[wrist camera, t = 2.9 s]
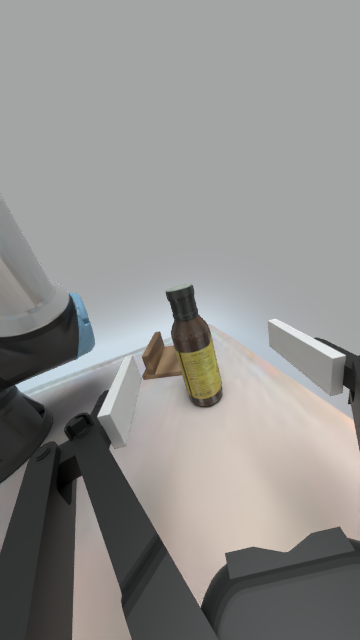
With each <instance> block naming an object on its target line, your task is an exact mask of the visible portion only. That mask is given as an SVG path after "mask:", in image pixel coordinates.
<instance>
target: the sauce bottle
mask: <svg viewBox="0 0 360 640" xmlns="http://www.w3.org/2000/svg"><path fill="white" fill-rule="evenodd" d="M166 296H167V299H168V301H169V302H170V305H171V309H172V312H173V317H174V323H173V326H172V330H171V335H172V340H173V343H174V348H175V352H176V355H177V358H178V362H179V365H180V368H181V372H182V375H183V378H184V382H185V385H186V388H187V391H188V393H189V396H190V398H191V400H192V401H193V402H194V403H195V404H196V405H198V406H210V405H212V404H214V403H215V402H217V401H218V400H219V399H220V397H221V396H222V386H221V385H222V382H221V377H220V373H219V369H218V364H217V359H216V355H215V350H214V346H213V341H212V336H211V332H210V330H209V327H208V324H207V323H206V322H205V321H204V320H203V318H201V317H200V316H199V315H198V309H197V307H196V302H195V299H194V289H193V285H192V284H183V285H179V286H175V287H172V288H169V289H167V290H166Z"/></svg>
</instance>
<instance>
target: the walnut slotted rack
mask: <svg viewBox="0 0 360 640" xmlns="http://www.w3.org/2000/svg"><path fill="white" fill-rule="evenodd" d="M142 359H143V362H144V364H145V367H146V369H145V372H144V374H143V379H144V380H145V379H153V378H161V377H169V376H177V375H182V372H181V368H180V365H179V362H178V358H177V355H176V352H175V348H174V346H168V347H165V346H164V343H163V340H162V337H161V333H160V332H156V333H155V334H154V335H153V337H152V339H151V341H150V343H149V344H148V346H147V348H146V350H145V352H144V354H143V355H142Z"/></svg>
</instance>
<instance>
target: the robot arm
mask: <svg viewBox="0 0 360 640" xmlns="http://www.w3.org/2000/svg"><path fill="white" fill-rule="evenodd" d="M268 331H269V344H270V347H271V348H272V349H274V350H275V351H276V352H277V353H279V354H280V355H281V356H282V357H283V358H285V359H286V360H287V361H288V362H289V363H291V364H292V365H293V366H294V367H296V368H297V369H298V370H299V371H301V372H302V373H303V374H304V375H305V376H306V377H308V378H309V379H310V380H312V381H313V382H314V383H315V384H316V385H317V386H319V387H320V388H321V389H322V390H324V391H325V392H326V393H327V394H328V395H330V396H333V395H337V394H341V393H343V385H344V386H345V387H347V388H349V389H350V391H349V400H348V404H351V407H352V412H353V417H354V423H355V428H356V434H357V439H358V444H359V450H360V356H356V355H354V354H352V353H350V352H348V351H346V350H344V349H342V348H340V347H337V346H336V345H334V344H332V343H330V342H328V341H326V340H323V339H320V338H312V337H310V336H308V335H306V334H304V333H302V332H300V331H298V330H296V329H294V328H293V327H291V326H289V325H287V324H285V323H283V322H281V321H279V320H277V319H273V320H269V321H268ZM94 345H95V339H94V334H93V330H92V327H91V323H90V321H89V318H88V314H87V311H86V309H85V306H84V304H83V301H82V299H81V297H80V296H79V295H78V294H77V293H68V292H67V290H66V289H65V288H64V287H63V286H62V285H60V284H58V283H56V282H52V281H49V279H48V278H47V276H46V274H45V272H44V270H43V269H42V267H41V265H40V264H39V262H38V260H37V258H36V256H35V255H34V253H33V251H32V249H31V247H30V246H29V244H28V242H27V240H26V238H25V237H24V235H23V233H22V231H21V230H20V228H19V226H18V224H17V223H16V221H15V219H14V217H13V215H12V214H11V212H10V210H9V208H8V206H7V205H6V203H5V201H4V199H3V198H2V196H1V194H0V482H1V481H2V480H4V479H5V478H6V477H8V476H9V475H10V474H11V473H12V472H14V471H15V470H16V469H17V468H18V467H19V466H20V465H21V464H23V463H24V462H25V461H26V460H27V459H28V458H29V457H30V456H31V455H32V453H33V452H34V451H35V450H36V449H37V448H38V447H39V445H40V444H41V443H42V441H43V440H44V439H45V437H46V435H47V434H48V432H49V430H50V428H51V425H52V421H53V418H52V415H51V414H50V412H49V411H48V409H47V408H46V407H45V406H44V405H42V404H40V403H39V402H37V401H35V400H33V399H32V398H30V397H28V396H26V395H25V394H23V393H21V392H20V391H19V390H18V388H17V387H16V386H15V385H16V384H18V383H20V382H23V381H25V380H27V379H30V378H32V377H35V376H37V375H39V374H42V373H44V372H46V371H49V370H51V369H54V368H56V367H58V366H61V365H63V364H66V363H68V362H70V361H73V360H76V359H78V358H79V357H80V356H82V355H84V354H86V353H88V352H90V351H91V350H92V349H93V348H94ZM141 379H142V378H141V375H140V373H139V370H138V368H137V365H136V363H135V360H134V357H133V355H130V356H126V357H124V360H123V362H122V364H121V366H120V368H119V371H118V373H117V375H116V377H115V379H114V381H113V384H112V386H111V388H110V390H107V391H104V392H103V394H102V395H101V396H100V397H99V399H98V401H97V403H96V405H95V408H94V409H93V411H92V413H91V415H89V414H88V413H81V414H78V415H77V416H75V417H74V418H72V419H71V420H70V421H69V422H68V423H67V424H66V426H65V428H64V432H65V434H66V435H67V437H68V438H69V441H67V442H65V443H63V444H61V445H59V446H58V445H57V444H56V443H55V442H54V441H53V442H49V443H46V444H44V445H43V446H41V447H40V448H39V449H38V450H37V451H36V452H34V454H33V455H32V456H31V457H30V460H29V462H28V464H27V468H26V471H25V474H24V477H23V481H22V484H21V487H20V490H19V494H18V497H17V500H16V504H15V507H14V510H13V513H12V517H11V520H10V523H9V526H8V530H7V533H6V536H5V540H4V543H3V546H2V549H1V553H0V640H72V618H73V584H74V550H75V516H76V482H77V478H78V477H80V476H83V479H84V482H85V485H86V488H87V491H88V494H89V497H90V500H91V503H92V506H93V509H94V512H95V515H96V518H97V521H98V524H99V527H100V530H101V533H102V536H103V539H104V541H105V544H106V547H107V550H108V553H109V556H110V559H111V562H112V565H113V568H114V571H115V574H116V577H117V580H118V583H119V586H120V589H121V593H122V599H121V603H122V608H123V612H124V615H125V619H126V622H127V625H128V628H129V632H130V635H131V638H132V640H360V541H357V540H354V539H350V538H347V537H346V535H345V534H344V532H343V531H342V529H341V528H340V527H336V528H332V529H328V530H323V531H319V532H315V533H311V534H310V535H309V536H307V537H306V538H305V539H304V540H303V541H301V542H300V543H299V544H298V545H297V546H295V547H294V548H293V549H292V550H290V551H289V552H279V551H273V550H268V549H262V548H257V547H250V548H246V549H241V550H237V551H233V552H228V553H225V556H226V561H227V564H226V565H225V566H223V567H222V568H221V569H220V570H219V571H218V573H217V574H216V575H215V577H214V578H213V580H212V581H211V583H210V585H209V587H208V589H207V591H206V594H205V596H204V599H203V602H202V605H201V608H200V606H199V605H198V603H197V601H196V599H195V598H194V596H193V594H192V593H191V591H190V589H189V587H188V586H187V584H186V582H185V580H184V579H183V577H182V575H181V573H180V572H179V570H178V568H177V566H176V565H175V563H174V561H173V560H172V558H171V556H170V554H169V553H168V551H167V549H166V547H165V546H164V544H163V542H162V541H161V539H160V537H159V535H158V534H157V532H156V530H155V529H154V527H153V525H152V523H151V522H150V520H149V518H148V516H147V515H146V513H145V511H144V509H143V508H142V506H141V504H140V502H139V501H138V499H137V497H136V496H135V494H134V492H133V490H132V489H131V487H130V485H129V483H128V482H127V480H126V478H125V476H124V475H123V473H122V471H121V469H120V468H119V466H118V464H117V463H116V461H115V459H114V457H113V456H112V454H111V452H110V450H109V447H110V444H112V445H113V447H114V449H116V448H120V447H124V446H126V444H127V440H128V435H129V431H130V427H131V422H132V418H133V414H134V409H135V405H136V401H137V396H138V392H139V388H140V383H141Z"/></svg>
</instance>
